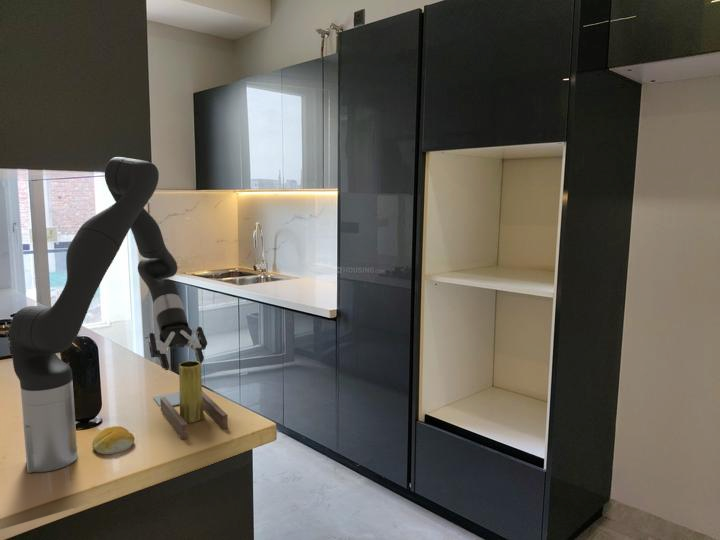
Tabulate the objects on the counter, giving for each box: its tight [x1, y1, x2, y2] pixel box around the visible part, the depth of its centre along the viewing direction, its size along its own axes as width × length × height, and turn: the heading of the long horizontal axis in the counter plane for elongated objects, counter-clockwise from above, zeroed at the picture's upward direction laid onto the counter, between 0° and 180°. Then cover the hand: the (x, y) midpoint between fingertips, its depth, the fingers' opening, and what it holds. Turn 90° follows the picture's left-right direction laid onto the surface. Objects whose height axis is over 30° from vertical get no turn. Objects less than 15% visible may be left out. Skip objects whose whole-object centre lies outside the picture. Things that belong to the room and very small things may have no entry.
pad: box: [152, 391, 180, 408], centre depth 143 cm, size 10×9×1 cm
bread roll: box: [91, 425, 136, 455], centre depth 116 cm, size 8×9×4 cm
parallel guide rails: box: [160, 390, 229, 440], centre depth 131 cm, size 11×20×4 cm, turn 35°
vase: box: [178, 360, 205, 424], centre depth 131 cm, size 6×6×14 cm
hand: (184, 365), depth 134 cm, fingers open, 8 cm apart
